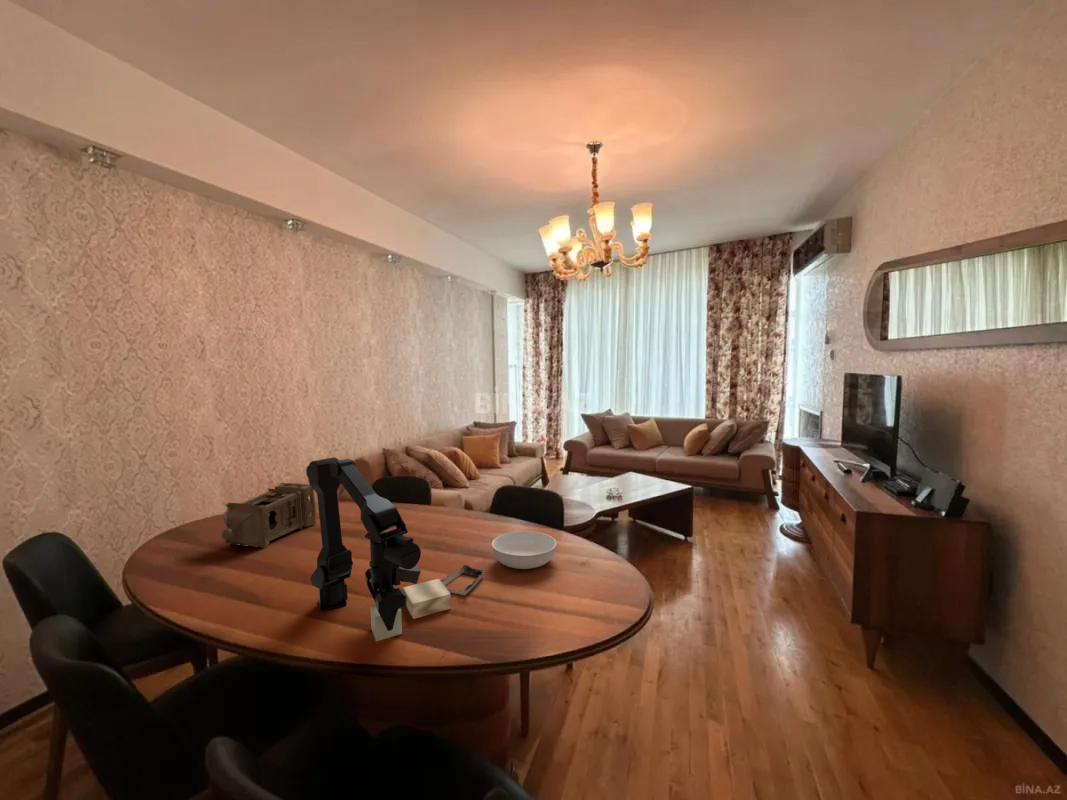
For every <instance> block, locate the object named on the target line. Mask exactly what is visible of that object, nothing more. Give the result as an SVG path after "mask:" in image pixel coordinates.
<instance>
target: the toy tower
mask: <svg viewBox="0 0 1067 800" xmlns="http://www.w3.org/2000/svg"><path fill="white" fill-rule="evenodd" d="M225 506H226V507H227V509H226V511H225V512H224V514H223V515H222V517H223V518H222V519H223V522H224V524H225V525H226V528H225V529H223V531H221V535H220V537H221V539H223V540H224V541H225V544H229V546H230V545H231V544H240V545H248V546H255V547H254V548H257V547H261V548H260V549H262V548H265V549H266V548H267V547H268V546H269V545H270V542H271V541H273V540H275V539H278V538H279V537H282V536H284V535H286V534H289V533H291V532H293V531H295V530H303V527H306V528H307V527H310V526H314V525H317V520H316V519H317V516H316V512H317V510H316V499H315V490H314V489H313V488H312V487H311V486H310V484H305V483H304V484H303V483H297V482H296V483H291V482H280V483H279V484H278V485H275V486H274V488H268V489H267V491H266V492H263V493H262V494H260V495H257V496H255V497H252V498H250V499H249V500H246V501H243V502H240V503H239V502H227V503H226V504H225ZM231 546H232V545H231ZM256 546H257V547H256Z"/></svg>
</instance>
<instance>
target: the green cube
mask: <svg viewBox="0 0 1067 800" xmlns="http://www.w3.org/2000/svg"><path fill="white" fill-rule="evenodd" d="M369 607H370V628H371V631H372V634H373V637H374V640H375V642H379V641H382V640H385V639H390V638H393V637H396V636H400V635H402V634H403V627H402V625H403V624H402V623H403V622H402V608H400V609H399V610H398V611H397V614H396V618H395V622H394V626H393V629H392V630H390V631H388V630H387V628H386V626H385V624H384V622H383V620H382V618H381V616H380V614H379V613H378V610H377V608H376V603H375V604H371V605H370V606H369Z"/></svg>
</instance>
